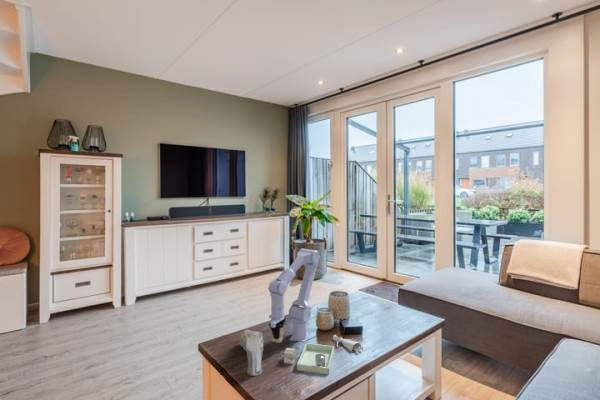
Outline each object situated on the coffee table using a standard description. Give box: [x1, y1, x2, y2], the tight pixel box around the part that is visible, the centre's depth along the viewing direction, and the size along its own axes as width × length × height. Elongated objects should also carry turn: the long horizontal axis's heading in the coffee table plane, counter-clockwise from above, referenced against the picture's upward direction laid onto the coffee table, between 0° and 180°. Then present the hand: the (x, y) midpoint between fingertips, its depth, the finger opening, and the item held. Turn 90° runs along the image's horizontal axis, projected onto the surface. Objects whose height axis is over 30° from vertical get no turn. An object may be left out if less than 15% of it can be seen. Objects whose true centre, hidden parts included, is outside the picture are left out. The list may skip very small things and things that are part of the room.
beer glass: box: [245, 330, 264, 377], centre depth 126 cm, size 7×7×15 cm
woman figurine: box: [332, 334, 364, 353], centre depth 147 cm, size 12×4×18 cm
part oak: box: [271, 327, 284, 343], centre depth 142 cm, size 4×4×5 cm
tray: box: [296, 342, 335, 376], centre depth 133 cm, size 18×13×3 cm
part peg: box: [315, 354, 325, 367], centre depth 127 cm, size 4×4×5 cm
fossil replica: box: [239, 329, 254, 352], centre depth 144 cm, size 12×8×10 cm
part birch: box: [283, 347, 297, 365], centre depth 133 cm, size 4×4×5 cm
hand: (277, 336), depth 142 cm, fingers closed on part oak, 4 cm apart
